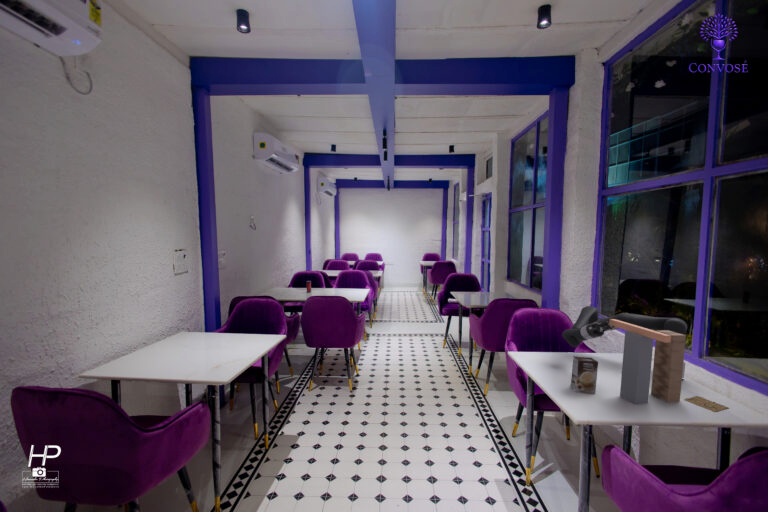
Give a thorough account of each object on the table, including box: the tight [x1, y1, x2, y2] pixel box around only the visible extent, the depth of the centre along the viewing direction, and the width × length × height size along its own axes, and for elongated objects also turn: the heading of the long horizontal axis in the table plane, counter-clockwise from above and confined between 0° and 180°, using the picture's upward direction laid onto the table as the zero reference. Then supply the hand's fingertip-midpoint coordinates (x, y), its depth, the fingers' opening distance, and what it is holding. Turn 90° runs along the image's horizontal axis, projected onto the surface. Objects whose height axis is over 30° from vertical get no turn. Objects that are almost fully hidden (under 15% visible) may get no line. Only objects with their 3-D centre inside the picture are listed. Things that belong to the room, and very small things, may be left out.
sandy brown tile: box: [683, 395, 730, 413], centre depth 154 cm, size 12×12×1 cm
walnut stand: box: [650, 330, 687, 403], centre depth 158 cm, size 8×7×32 cm
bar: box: [609, 319, 671, 343], centre depth 155 cm, size 28×3×3 cm, turn 10°
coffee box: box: [570, 355, 599, 394], centre depth 163 cm, size 9×6×16 cm
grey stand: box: [619, 330, 655, 405], centre depth 155 cm, size 8×7×32 cm
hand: (615, 323), depth 166 cm, fingers open, 8 cm apart
